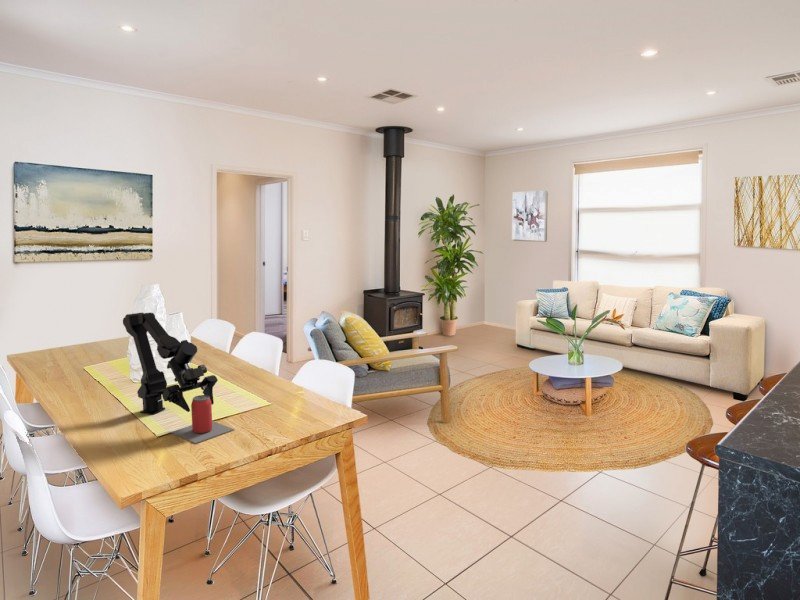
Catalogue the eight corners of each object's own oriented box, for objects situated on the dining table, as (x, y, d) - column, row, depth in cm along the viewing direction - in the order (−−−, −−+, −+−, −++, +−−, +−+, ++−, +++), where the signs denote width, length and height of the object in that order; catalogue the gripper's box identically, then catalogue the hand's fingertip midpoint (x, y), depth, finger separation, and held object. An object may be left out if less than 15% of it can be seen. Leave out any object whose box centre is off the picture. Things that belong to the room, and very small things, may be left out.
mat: (170, 433, 179) (170, 432, 179) (208, 420, 191) (208, 419, 191) (195, 444, 170) (195, 443, 170) (234, 430, 182) (234, 429, 182)
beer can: (214, 426, 185) (212, 394, 183) (210, 433, 178) (209, 400, 176) (194, 427, 183) (193, 394, 182) (190, 434, 177) (188, 401, 175)
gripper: (165, 363, 173) (185, 402, 168) (213, 353, 188) (233, 388, 183) (153, 382, 179) (172, 420, 174) (202, 370, 194) (220, 405, 189)
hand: (201, 407), depth 180 cm, fingers open, 9 cm apart
